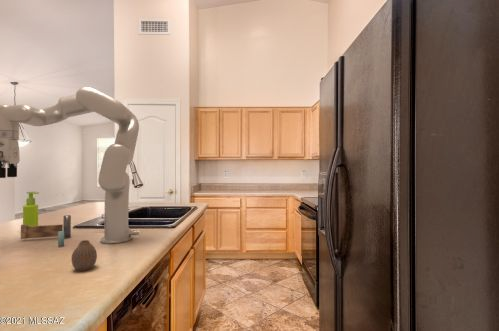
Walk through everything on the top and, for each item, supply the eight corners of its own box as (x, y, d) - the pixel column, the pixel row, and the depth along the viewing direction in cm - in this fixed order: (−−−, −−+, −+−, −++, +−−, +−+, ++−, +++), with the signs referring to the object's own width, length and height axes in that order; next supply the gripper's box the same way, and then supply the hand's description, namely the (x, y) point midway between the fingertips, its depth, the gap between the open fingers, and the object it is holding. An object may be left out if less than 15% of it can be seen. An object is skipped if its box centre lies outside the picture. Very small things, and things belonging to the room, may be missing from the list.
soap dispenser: (31, 233, 131) (31, 192, 132) (19, 233, 133) (20, 192, 133) (42, 231, 137) (43, 191, 137) (31, 230, 139) (31, 191, 139)
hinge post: (71, 236, 126) (71, 215, 126) (69, 238, 124) (69, 216, 124) (64, 237, 125) (64, 215, 125) (62, 238, 123) (62, 216, 123)
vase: (91, 263, 91) (91, 237, 91) (100, 268, 87) (100, 240, 87) (68, 269, 86) (68, 241, 86) (76, 274, 82) (76, 245, 82)
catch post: (64, 245, 112) (64, 230, 112) (63, 246, 110) (63, 231, 110) (59, 245, 112) (59, 231, 112) (57, 247, 110) (57, 232, 110)
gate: (62, 235, 125) (62, 222, 125) (61, 236, 123) (61, 223, 123) (23, 237, 120) (23, 224, 120) (20, 239, 118) (20, 225, 118)
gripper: (8, 133, 105) (7, 178, 105) (26, 138, 121) (26, 176, 121) (-17, 132, 102) (-18, 178, 102) (5, 137, 118) (5, 176, 118)
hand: (6, 177), depth 111 cm, fingers open, 9 cm apart
